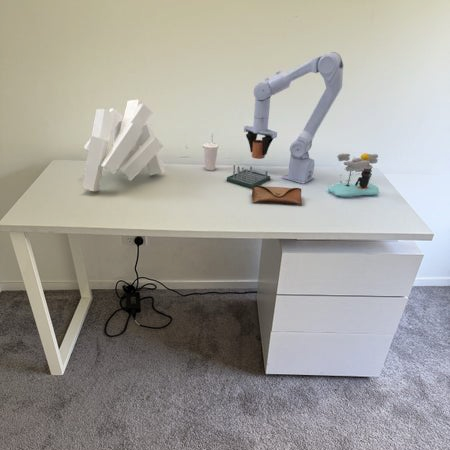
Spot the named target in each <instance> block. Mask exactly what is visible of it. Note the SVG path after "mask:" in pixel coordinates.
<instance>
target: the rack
mask: <svg viewBox="0 0 450 450" xmlns="http://www.w3.org/2000/svg"><path fill="white" fill-rule="evenodd" d="M232 170H233V171H232V174H231V175H229V176H227V177H226V182H227V183H231V184H234V185H238V186H241V187H244V188H247V189H251V190H253V187H254V186H262V185H263V184H265V183H267V182H269V181H271V175H268V173H269V171H268V170H266V171H265V174H264V173H260V172H257V171H253V166H249V168H245V169H244V166H243V167H241V170H240V166H239V165H238V166H237V172H236V165H235V164H233V169H232Z"/></svg>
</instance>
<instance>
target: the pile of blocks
mask: <svg viewBox="0 0 450 450" xmlns="http://www.w3.org/2000/svg"><path fill="white" fill-rule="evenodd" d="M153 114H154V113H153V111H152V110H151V109H150V108H149V107H147V106H146V105H145V104H144V103H143V102H142V101H141V100H140V98H139V99H131V100H127V103H126V106H125V110H124V114H123V115H122V114H120V112H119V111H117V110H116V109H115V108H113V107H111V108H110V109H106V108H96V109H95V114H94V120H93V124H92V125H93V126H92V131H91V135H90V137H89V139H88V141H87V142H86V143H85V145H84V146H83V149H84V150H86V151H87V156H86V162H85V167H84V172H83V173H84V174H83V179H82V184H81V189H84V190H87V191H91V192H99V189H100V185H101V180H102V173H103V169H105V170H106V171H107V172H108V173H110V174H112V175H115V174H116V173H121V175H122V176H123V177H124V179H126V180H128V181H132V180H133V179H134V178H135V177H136V176H137V175H138V174H139V173H140V172H141V171H142V169H144V167H145V166H146V168H147V172H148V175H149V176H154V175H158V174H161V173H165V172H166V169H165V166H164V164H163V160H162V157H161V153H160V150H161V149H162V148H163V147H164V146H163V144H162V143H161V142H160V140H159V139H158V137H156V136H155V133H154V132H155V131H154V129H153V126H152V124H147V122H148V120H149V118H150V117H151V116H152V115H153ZM112 134H113V135H112ZM111 135H112V144H111V149H110V150H109V144H110V141H111ZM108 150H109V152H108Z"/></svg>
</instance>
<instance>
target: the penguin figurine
mask: <svg viewBox="0 0 450 450" xmlns="http://www.w3.org/2000/svg"><path fill="white" fill-rule="evenodd" d="M336 157H337V159H338V162H343V161H344V162H343V165H344V166H346V167H345V168H344V169H343V170H345V171H346V172H349V174H348V179H346V182H340V183H336V184H333V185H330V186H328V187H327V191H329V192H330V193H331V194H334V195H336V196H339V197H345V198H348V197H357V196H374V195H377V194H380V190H379V187H378V186H377V185H375V184H373V183H370V180H371V177H372V175H373V173H372V172H373V170H372V169H373V165H372V164H377V163H378V158H379V155H378V154H377V153H367V152H365V153H362V154H361V156H360V157H354V158H352V159H350V158H351V154H350V153H338V154H337V156H336ZM354 172H355V173H354ZM352 175H355V176H359V177H358V178H357V180H356V182H355V183H350V182H351V181H352V180H351V177H352ZM339 176H340V177H341V176H342V174H339Z"/></svg>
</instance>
